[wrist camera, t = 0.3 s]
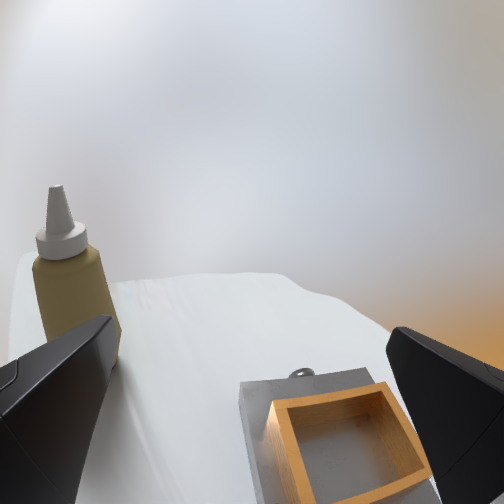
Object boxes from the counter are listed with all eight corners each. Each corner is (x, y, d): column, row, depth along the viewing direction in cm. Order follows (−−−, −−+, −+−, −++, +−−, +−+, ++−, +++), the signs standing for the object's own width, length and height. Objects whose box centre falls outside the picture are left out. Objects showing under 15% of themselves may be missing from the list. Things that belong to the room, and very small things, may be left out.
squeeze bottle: (91, 401, 21) (33, 207, 14) (45, 361, 24) (-2, 194, 16) (142, 355, 28) (123, 180, 21) (94, 326, 31) (70, 173, 23)
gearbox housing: (428, 532, 10) (476, 507, 8) (277, 587, 8) (297, 591, 6) (351, 378, 27) (370, 336, 25) (236, 392, 25) (240, 347, 23)
